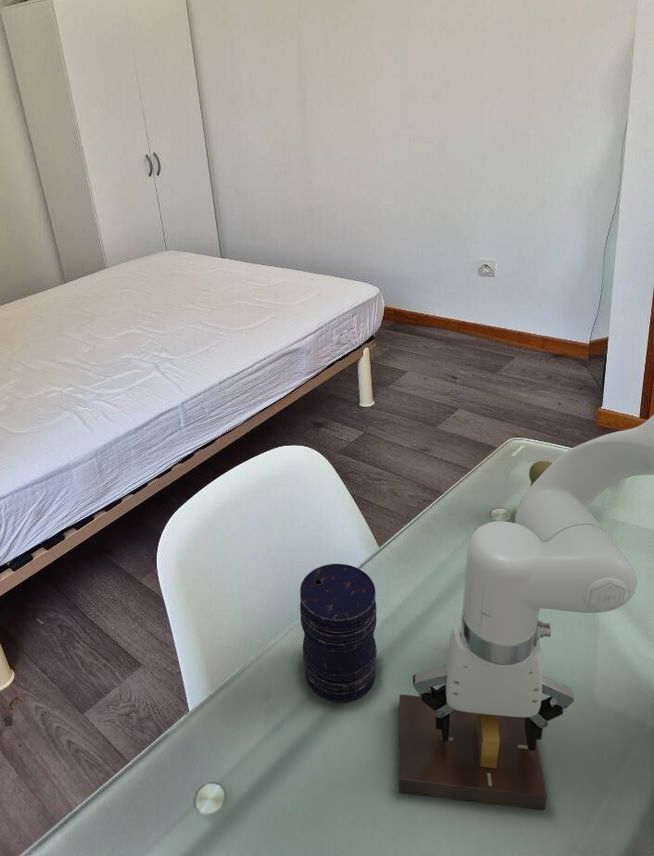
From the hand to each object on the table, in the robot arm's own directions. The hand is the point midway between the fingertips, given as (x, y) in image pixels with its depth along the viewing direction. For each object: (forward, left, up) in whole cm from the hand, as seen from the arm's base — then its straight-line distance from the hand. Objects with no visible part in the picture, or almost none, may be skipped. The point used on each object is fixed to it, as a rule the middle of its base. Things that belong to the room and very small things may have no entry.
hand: (486, 734), depth 80 cm
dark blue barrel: (+18, -10, -4) cm, 21 cm away
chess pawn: (-14, -45, -4) cm, 47 cm away
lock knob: (0, 0, -2) cm, 2 cm away
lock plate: (+2, 0, -4) cm, 5 cm away
